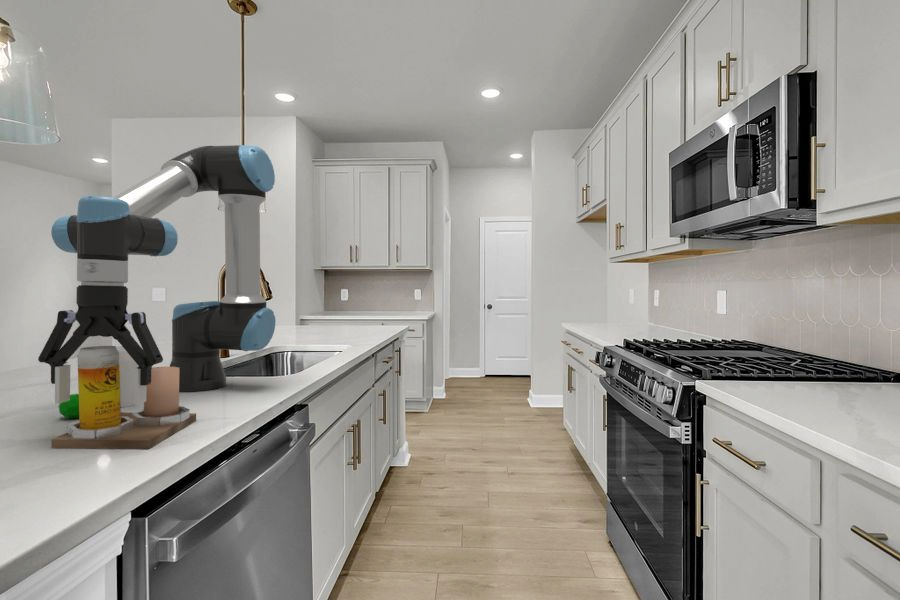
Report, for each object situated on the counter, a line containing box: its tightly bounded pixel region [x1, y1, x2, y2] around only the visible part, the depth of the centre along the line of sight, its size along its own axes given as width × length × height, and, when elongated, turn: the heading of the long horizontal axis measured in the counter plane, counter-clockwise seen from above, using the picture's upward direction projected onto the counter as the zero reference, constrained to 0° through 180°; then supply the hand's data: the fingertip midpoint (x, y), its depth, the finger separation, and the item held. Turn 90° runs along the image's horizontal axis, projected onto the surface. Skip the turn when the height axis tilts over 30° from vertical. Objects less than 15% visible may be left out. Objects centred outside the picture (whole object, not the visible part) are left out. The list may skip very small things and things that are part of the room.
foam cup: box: [115, 345, 139, 408], centre depth 113 cm, size 10×9×13 cm
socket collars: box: [66, 405, 191, 439], centre depth 94 cm, size 17×16×2 cm
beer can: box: [77, 345, 122, 429], centre depth 89 cm, size 6×6×15 cm
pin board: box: [50, 411, 197, 450], centre depth 94 cm, size 18×16×2 cm
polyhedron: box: [58, 393, 79, 420], centre depth 102 cm, size 5×5×5 cm
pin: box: [143, 366, 180, 417], centre depth 98 cm, size 6×6×10 cm
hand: (101, 402), depth 89 cm, fingers open, 13 cm apart
